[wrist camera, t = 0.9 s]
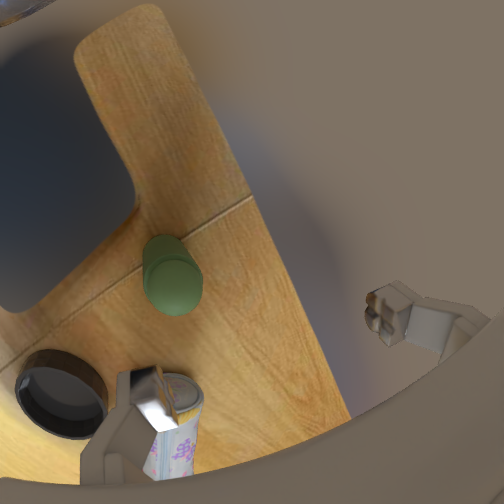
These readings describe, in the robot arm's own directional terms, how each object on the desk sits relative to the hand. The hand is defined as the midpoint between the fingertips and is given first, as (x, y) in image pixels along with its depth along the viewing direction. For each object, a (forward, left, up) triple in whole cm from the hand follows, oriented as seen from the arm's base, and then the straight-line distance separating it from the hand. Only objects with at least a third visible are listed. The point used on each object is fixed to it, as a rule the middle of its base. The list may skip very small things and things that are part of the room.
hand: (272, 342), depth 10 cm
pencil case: (+18, -21, -24) cm, 36 cm away
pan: (+4, -27, -23) cm, 36 cm away
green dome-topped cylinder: (+1, -3, -23) cm, 23 cm away
